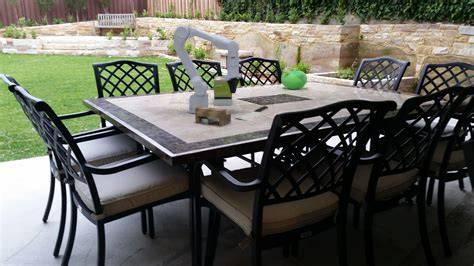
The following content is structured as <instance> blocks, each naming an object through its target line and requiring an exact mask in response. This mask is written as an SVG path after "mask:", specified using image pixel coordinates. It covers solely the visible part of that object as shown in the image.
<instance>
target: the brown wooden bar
mask: <svg viewBox="0 0 474 266" xmlns="http://www.w3.org/2000/svg"><path fill="white" fill-rule="evenodd" d="M218 120H219V118H211V117H204V118H201V122H202V123H201V122H200V123H201V124H206V123H207V125H208V123H209V124H211V122H212V123H215V121H216V122H219V121H218Z"/></svg>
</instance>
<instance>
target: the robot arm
mask: <svg viewBox="0 0 474 266" xmlns="http://www.w3.org/2000/svg"><path fill="white" fill-rule="evenodd" d="M189 37H190V38H191V37H198V38H200V39H203V40H205V41H207V42H210V43H211V44H212V46H213V47H216V48H219V49H221V50H223V51H227V57H226V59H227V61H226V63H227V64H226V67H227V68H226V70H227V73H226V74H227V75H224V80H226V81H227V83H228V85H229V88H230V92H231V93H232V95H234V94H236V93H237V88H238V85H239V82H240V81H241V80H240V79H241V78H242V77H243V75H242V73H240V71H239V70H240V69H239V68H240V57H239V50H240V45H239V44H238V42H237V41H235V40H232V38H227V37H224V36H223V35H222V33H221V34H218V33H217V34H215V35H212V34H210V33H207V32H206V31H203V30H202V29H199V28H197V27H192V26H188V25H186V24H180V25H178V26H177V27H176V29H175V30H174V33H173V49H174V50H175V53H176V54H177V56H178V58H179V60H180V62H181V63H182V65H183V67H184V69H185V71H186V73H187V75H188V76H189V79H190V81H191V83H192V86H193V91H194V94H191V95H190V96H189V98H188V106H189V107H188V110H189V111H188V113H190V114H195V108H197V107H200V106H201V107H209V93H208V92H207V90H208V87H209V86H208V84H207V82H206V81H205V80H203V78H202V76H201V75H200V74H199V71H198V70H197V68H196V66H195V63H194V62H193V60H192V59H191V57H190V55H189V53H188V51H187V49H186V47H185V46H186V43H187V40H188V38H189Z"/></svg>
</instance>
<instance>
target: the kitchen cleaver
mask: <svg viewBox="0 0 474 266" xmlns="http://www.w3.org/2000/svg"><path fill="white" fill-rule="evenodd" d="M268 109H269V107H268V106H266V105H263V106H261V107H259V108H257V109H254V110H253V111H251V112H249V113H246V114H241V115H237V116H235V119H238V120H242V121H245V120H247V121H246V122H249V121H248V120H251V119H252V118H254V117H255V116H258V115H260V114H262V113H263V111H266V110H268ZM251 121H252V120H251Z"/></svg>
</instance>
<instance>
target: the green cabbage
mask: <svg viewBox="0 0 474 266" xmlns="http://www.w3.org/2000/svg"><path fill="white" fill-rule="evenodd" d="M282 72H283V73H282V75H281V76H280V77H281V78H280V79H281V84H282V85H283V86H284V87H285V88H287V89H290V90H298V89H302V88H303V87H304V86H306V84H307V83H308V76H307V74H306V73H305V72H304V71H302V70H300V69H298V68H297V67H294V68H292V69H288V70H282Z"/></svg>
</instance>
